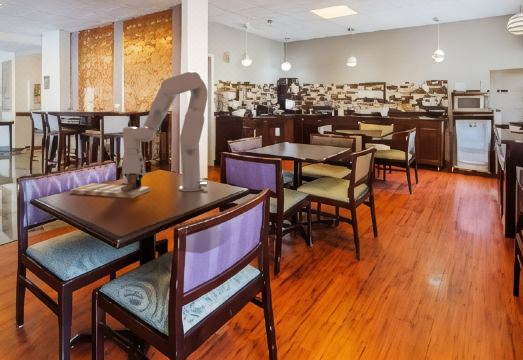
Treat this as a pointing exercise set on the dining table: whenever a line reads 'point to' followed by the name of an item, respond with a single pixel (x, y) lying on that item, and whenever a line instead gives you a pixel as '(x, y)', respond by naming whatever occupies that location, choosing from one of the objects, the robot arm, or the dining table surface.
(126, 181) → the jar
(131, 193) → the board
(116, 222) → the dining table surface
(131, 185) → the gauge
